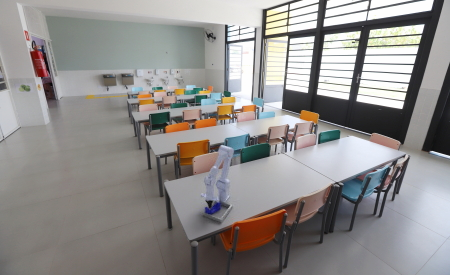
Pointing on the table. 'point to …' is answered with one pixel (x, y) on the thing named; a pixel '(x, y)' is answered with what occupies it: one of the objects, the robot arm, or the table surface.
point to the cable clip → (213, 208)
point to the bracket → (223, 215)
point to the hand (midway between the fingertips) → (210, 207)
